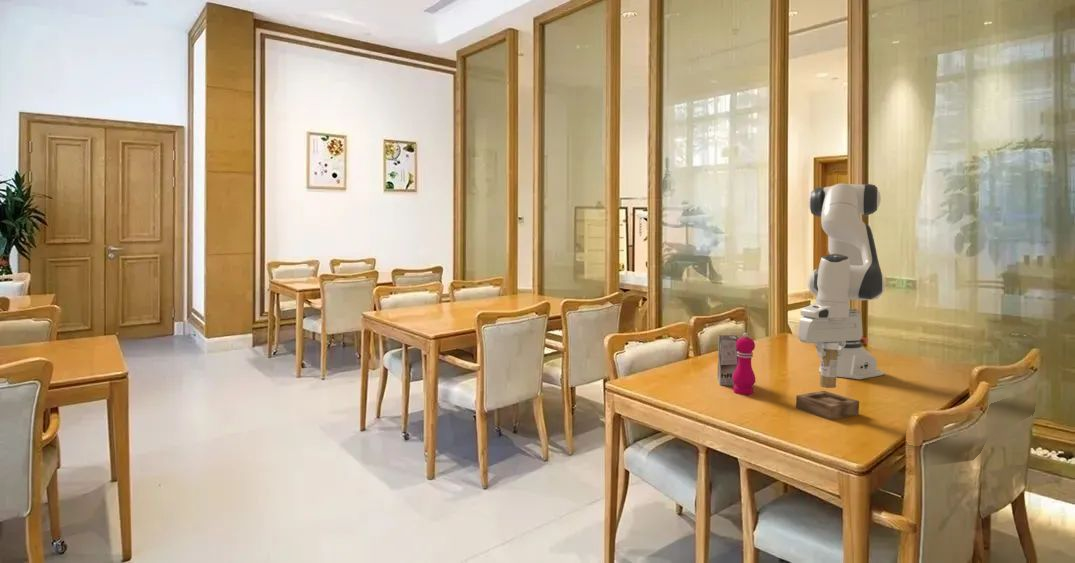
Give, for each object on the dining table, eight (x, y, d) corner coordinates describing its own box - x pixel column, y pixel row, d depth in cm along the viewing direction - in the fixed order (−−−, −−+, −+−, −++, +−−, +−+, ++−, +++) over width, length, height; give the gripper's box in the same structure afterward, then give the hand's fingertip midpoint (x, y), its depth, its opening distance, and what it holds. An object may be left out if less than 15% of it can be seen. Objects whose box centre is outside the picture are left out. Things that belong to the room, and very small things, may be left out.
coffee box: (738, 386, 206) (740, 340, 204) (719, 385, 207) (721, 339, 205) (735, 379, 215) (737, 335, 213) (716, 378, 216) (718, 334, 214)
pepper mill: (728, 389, 202) (730, 330, 200) (749, 388, 203) (751, 330, 201) (737, 395, 195) (739, 334, 193) (758, 395, 196) (761, 334, 194)
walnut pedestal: (823, 403, 187) (823, 390, 187) (858, 414, 177) (859, 401, 176) (795, 408, 182) (796, 395, 182) (830, 420, 171) (831, 406, 171)
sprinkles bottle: (816, 384, 180) (818, 340, 179) (829, 384, 181) (832, 340, 180) (826, 388, 176) (828, 343, 175) (839, 388, 177) (842, 343, 175)
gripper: (852, 307, 182) (850, 352, 183) (795, 309, 176) (793, 355, 178) (869, 310, 176) (866, 356, 177) (811, 312, 170) (808, 360, 172)
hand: (829, 356), depth 178 cm, fingers closed on sprinkles bottle, 4 cm apart
